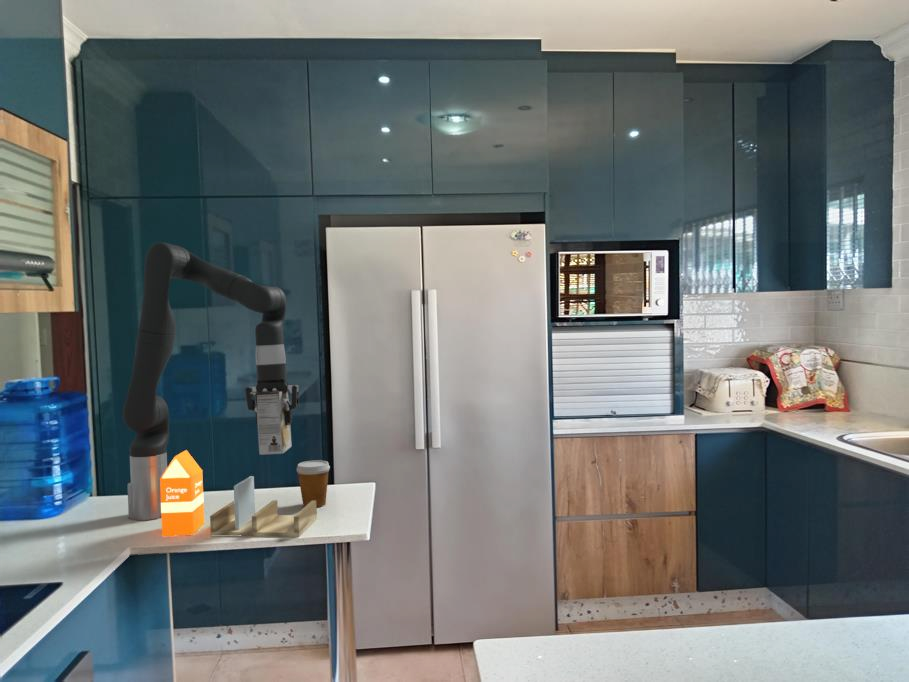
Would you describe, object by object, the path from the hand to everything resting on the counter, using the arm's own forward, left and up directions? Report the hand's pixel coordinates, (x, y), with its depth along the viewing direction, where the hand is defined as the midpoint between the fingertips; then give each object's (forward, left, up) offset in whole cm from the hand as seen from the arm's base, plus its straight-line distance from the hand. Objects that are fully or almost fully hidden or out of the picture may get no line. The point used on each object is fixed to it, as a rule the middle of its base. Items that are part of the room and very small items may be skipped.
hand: (274, 425), depth 170 cm
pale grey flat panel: (-7, -5, -26) cm, 27 cm away
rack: (-1, -5, -26) cm, 26 cm away
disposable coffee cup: (+5, +15, -26) cm, 31 cm away
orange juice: (-22, -8, -26) cm, 35 cm away
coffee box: (0, 0, -7) cm, 7 cm away
